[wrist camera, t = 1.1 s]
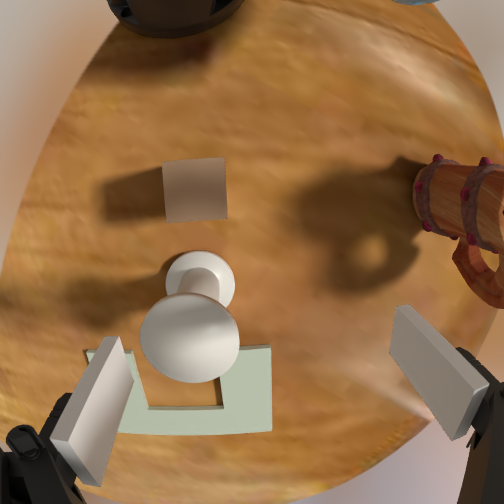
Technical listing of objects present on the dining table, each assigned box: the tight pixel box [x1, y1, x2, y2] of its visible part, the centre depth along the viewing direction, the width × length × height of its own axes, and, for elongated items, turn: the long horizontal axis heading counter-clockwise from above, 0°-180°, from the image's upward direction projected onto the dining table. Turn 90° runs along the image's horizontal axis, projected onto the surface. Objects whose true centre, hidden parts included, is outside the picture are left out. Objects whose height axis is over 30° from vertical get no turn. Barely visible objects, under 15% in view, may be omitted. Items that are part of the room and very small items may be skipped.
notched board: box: [86, 344, 272, 435], centre depth 36 cm, size 14×22×1 cm, turn 93°
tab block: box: [162, 157, 227, 223], centre depth 26 cm, size 4×4×8 cm
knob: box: [140, 250, 239, 383], centre depth 27 cm, size 7×7×12 cm
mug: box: [413, 154, 504, 309], centre depth 26 cm, size 15×8×15 cm, turn 19°
